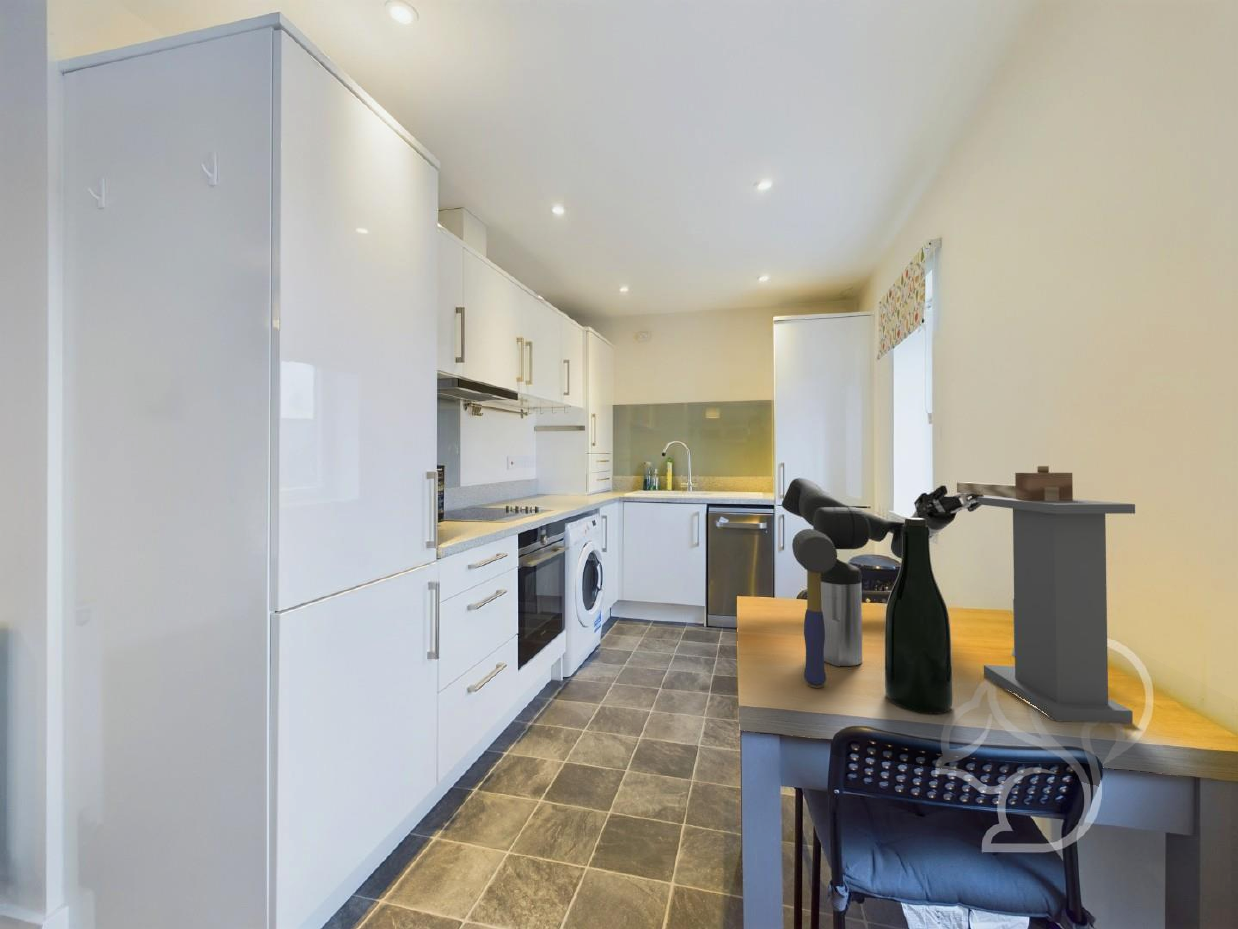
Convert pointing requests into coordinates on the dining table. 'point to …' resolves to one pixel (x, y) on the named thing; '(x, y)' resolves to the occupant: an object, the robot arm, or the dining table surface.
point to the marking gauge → (1027, 486)
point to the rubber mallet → (814, 598)
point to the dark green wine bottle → (918, 630)
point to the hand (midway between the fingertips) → (963, 488)
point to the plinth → (1060, 608)
